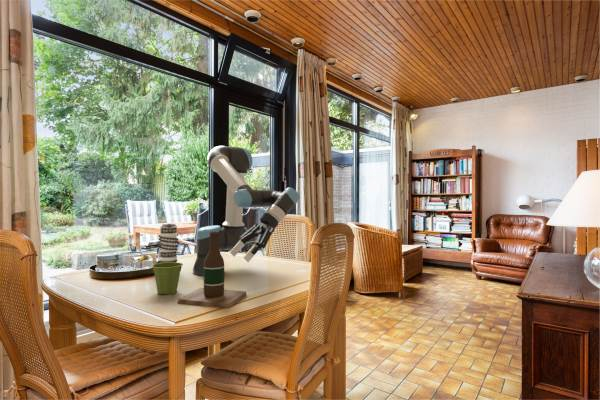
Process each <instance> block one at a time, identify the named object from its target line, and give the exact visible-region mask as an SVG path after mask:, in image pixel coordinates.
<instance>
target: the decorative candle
mask: <svg viewBox="0 0 600 400" xmlns="http://www.w3.org/2000/svg"><path fill="white" fill-rule="evenodd" d="M177 228H178V226H177V225H176V223H171V222H169V223H163V224H162V225H161V226H160V233H159V235H158V241H159V243H158V248H159V249H158V250H159V253H160V255H159V260H158V263H165V262H178V253H177V252H178V250H179V249H178V247H179V246H178V245H177V244H179V241H178V240H179V238H178V237H179V234H178V232H177V231H178V229H177Z"/></svg>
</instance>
